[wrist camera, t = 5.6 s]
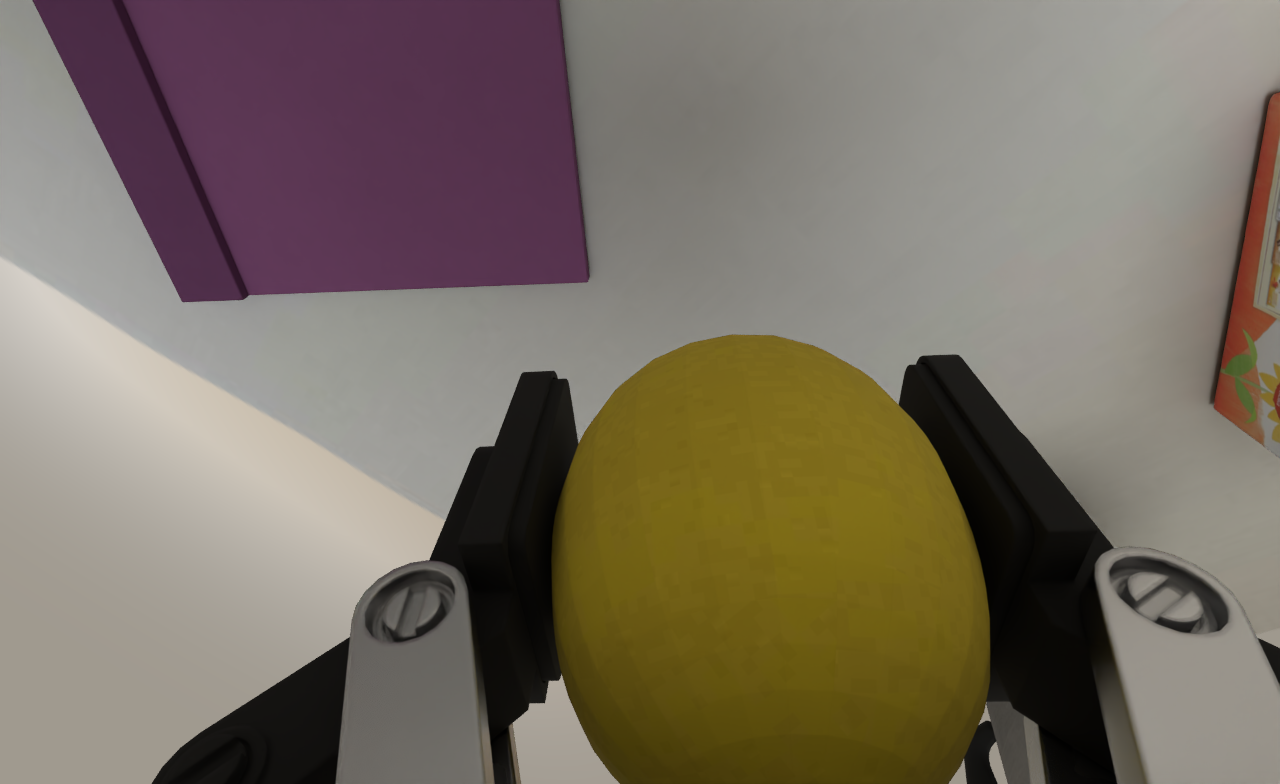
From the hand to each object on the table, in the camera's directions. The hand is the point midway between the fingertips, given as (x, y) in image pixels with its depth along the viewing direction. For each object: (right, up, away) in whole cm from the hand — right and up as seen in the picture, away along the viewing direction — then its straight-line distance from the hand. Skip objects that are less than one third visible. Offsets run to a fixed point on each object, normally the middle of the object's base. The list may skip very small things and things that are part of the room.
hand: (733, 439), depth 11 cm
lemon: (0, +1, +1) cm, 2 cm away
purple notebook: (-13, +11, +13) cm, 22 cm away
